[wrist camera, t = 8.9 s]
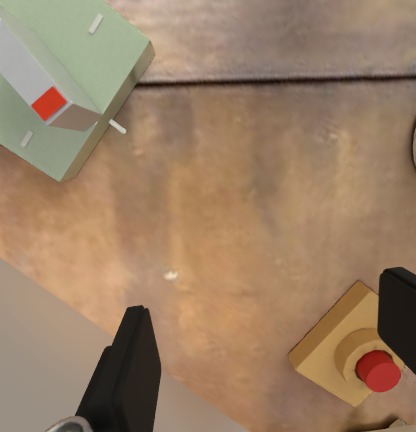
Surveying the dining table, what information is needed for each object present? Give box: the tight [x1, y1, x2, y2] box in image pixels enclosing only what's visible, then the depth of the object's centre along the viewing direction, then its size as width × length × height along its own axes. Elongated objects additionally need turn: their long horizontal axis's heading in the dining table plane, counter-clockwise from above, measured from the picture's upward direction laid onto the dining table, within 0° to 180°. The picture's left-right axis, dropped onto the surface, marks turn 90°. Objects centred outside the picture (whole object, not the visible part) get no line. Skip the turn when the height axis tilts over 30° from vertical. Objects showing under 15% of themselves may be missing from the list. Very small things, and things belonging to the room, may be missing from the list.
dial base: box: [0, 0, 155, 182], centre depth 20 cm, size 13×12×3 cm
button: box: [356, 350, 401, 392], centre depth 26 cm, size 4×4×2 cm
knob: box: [0, 6, 104, 132], centre depth 16 cm, size 7×2×6 cm, turn 37°
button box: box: [288, 281, 404, 408], centre depth 29 cm, size 12×10×4 cm
